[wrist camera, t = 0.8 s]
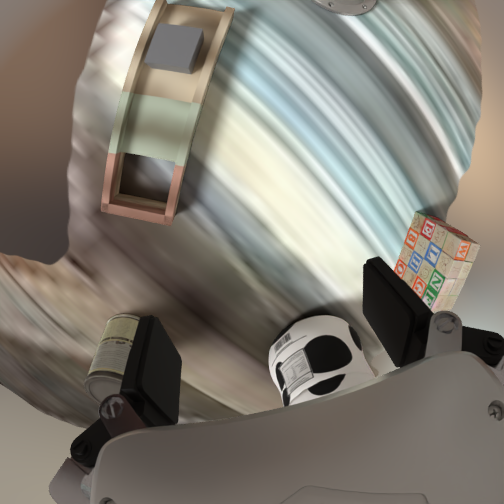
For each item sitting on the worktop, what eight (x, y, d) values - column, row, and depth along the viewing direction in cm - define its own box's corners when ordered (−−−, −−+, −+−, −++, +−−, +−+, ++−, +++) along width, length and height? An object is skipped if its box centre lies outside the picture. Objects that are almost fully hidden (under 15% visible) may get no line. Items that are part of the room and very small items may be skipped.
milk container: (340, 362, 55) (369, 427, 39) (263, 374, 53) (279, 449, 38) (358, 301, 48) (405, 372, 32) (266, 311, 46) (290, 401, 30)
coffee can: (169, 345, 47) (162, 410, 34) (127, 358, 47) (113, 416, 35) (137, 305, 42) (117, 370, 30) (95, 322, 43) (70, 381, 30)
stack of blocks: (396, 311, 51) (426, 350, 40) (374, 311, 50) (403, 354, 39) (436, 216, 42) (481, 245, 31) (414, 209, 41) (462, 240, 30)
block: (164, 33, 23) (158, 23, 20) (204, 39, 24) (202, 28, 21) (152, 68, 25) (144, 62, 22) (191, 74, 26) (188, 68, 23)
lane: (162, 8, 23) (157, -3, 19) (232, 19, 25) (234, 8, 21) (111, 202, 34) (100, 211, 30) (175, 215, 36) (170, 226, 33)
